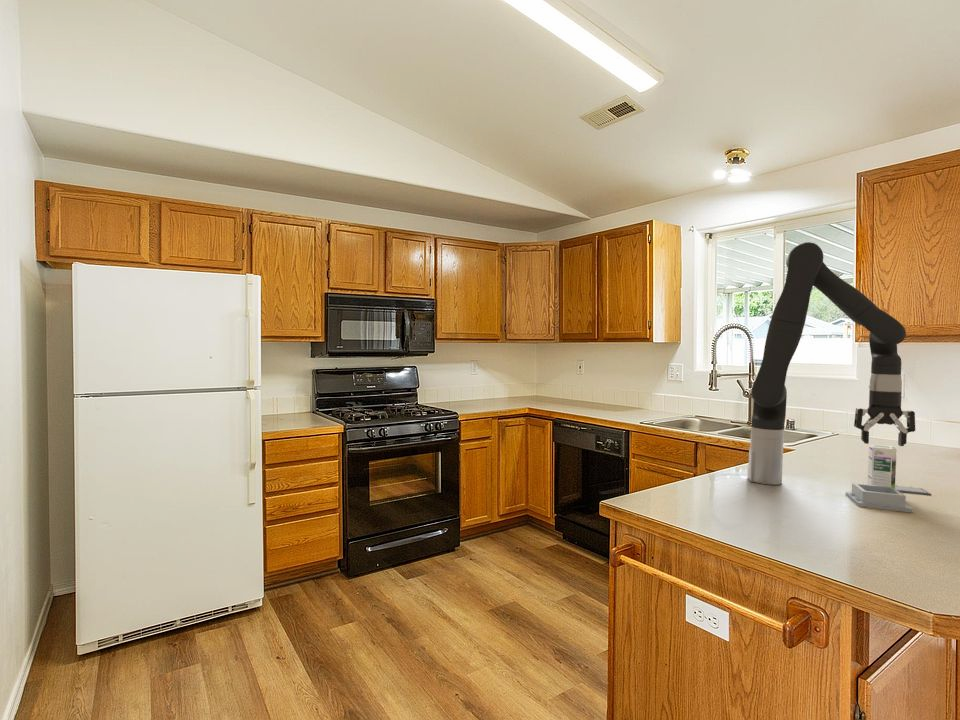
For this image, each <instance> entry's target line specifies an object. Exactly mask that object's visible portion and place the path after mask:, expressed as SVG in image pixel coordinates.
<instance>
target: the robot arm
mask: <svg viewBox="0 0 960 720" xmlns="http://www.w3.org/2000/svg"><path fill="white" fill-rule="evenodd" d="M785 265H786V268H787V272H786V277H785V282H784V286H783V289H782V290H781V293H780V295H779V298H778V299H777V302H776V305H775V307H774V310H773V312H772V314H771V318H770V322H769V324H768V329H767V332H766V333H767V334H766V338H765V344H764V348H763V349H764V350H763V356H762V360H761V364H760V367H759V369H758V372H757V375H756V378H755V380H754V382H753V384H752V386H751V394H750V395H751V397H752V399H753V410H752V417H751V423H750V426H751V427H750V444H749V445H750V446H749V449H748V469H747V470H748V471H747V478H748V480H749V482H750V483H751V482H753V483H757V484H763V485H771V486H772V485H773V486H777V485H782V483H783V464H784V463H783V461H784V439H785V438H784V437H785V422H786V414H787V413H786V412H787V400H788V399H787V396H788V395H787V387H786V379H787V374H788V369H789V367H790V363H791V361H792V358H793V356H794V355H795V354H796V353H795V352H796V351H797V348H798V346H799V344H800V341H801V338H802V335H803V331H804V328H805V324H806V321H807V320H806V319H807V315H808V312H809V311H808V310H809V306H810V299H811V294H812V289H813V287H814V288H816V289H817V291H819V292H820V293H822V294H823V295H824V296H825V297H826V298H827V299H829V300H830V302H832V303H833V304H834V305H835V306H836V307H837V308H839V310H840V311H841V312H843V313H844V315H846V316H847V317H848V318H849V319H850V320H851V321H852V322H854V323H855V324H857V325H859V326H862V327H863V328H865V329H866V330H867V331H868V332H869V335H868V343H869V349H870V355H871V368H870V371H871V372H870V379H869V384H868V389H869V395H868V399H869V400H868V408H860V407H856V408H855V413H854V423H853V427H855V428H857V429H859V430H860V431H861V434H860V435H861V436H860V440H861V441H862V442H863V443H864V444H865V445H866V444H867V445H869V442H870V441H869V440H870V439H869V438H870V431H869V430H870V429H871V428H872V427H874V426H875V425H876V424H877V425H889V426H890V425H893V426H895V428H896V429H897V430H898V431H899V432H898V438H897V440H898V441H897V444H898V446H899V447H905V445H906V444H907V439H908V437H907V436H908V434H909V433H914V432H916V414H915V413H916V412H915V411H914V410H902V394H903V393H902V392H903V391H902V390H903V388H902V387H903V380H902V359H901V356H900V355H899V354H898V345H899V344H901V343H902V342H903V341H904V340H905V338H906V337H907V331H906V329H905V327H904V325H903V324H902V323H901V322H900V321H899V320H897V319H896V318H895V317H893V316H892V315H890V314H889V313H887V312H886V311H884V310H882V309H881V308H879V307H878V306H877V305H876V304H875V303H874V302H873V301H872V300H871V299H870V298H869V297H867V296H866V295H865V294H864V293H862V292H861V291H860V290H858V289H857V288H856V287H855V286H853V285H851V284H850V283H848V282H847V281H845V280H844V279H842V278H841V277H839V276H838V275H837V274H835V273H834V272H833V271H832V270H831V269H830V268H829V267H828V266H827V265H826V264H825V263H824V252H823V249H822V248H821V247H820V246H819V245H818V244H816V243H814V242H811V241H810V242H809V241H808V242H806V241H805V242H802V243H799V244H797V245H795V246H794V247H793V248H791V250H790V251H789V252H788V253H787V255H786V257H785ZM866 414H867V415H868V416H869V418H868V419H866V421H865V423H864V424H863V417H865V416H866ZM902 416H903V417H904V418H905V419H906V426H904V424H903V422H901V420H900V418H901V417H902Z"/></svg>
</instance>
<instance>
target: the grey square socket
mask: <svg viewBox="0 0 960 720" xmlns="http://www.w3.org/2000/svg"><path fill="white" fill-rule="evenodd" d="M845 496H846V497H847V498H848V499H849V500H851V502H852V503H854V504H855V505H856V506H857V507H860V508H869V509H878V510H888V511H896V512H906V513H913V508H912V507H911V506H909V505H908V504H906V501H907V500H906V497H907V496H906V494H905V493H902V492H899V491H898V490H896V489H895V488H893V487H888V486H878V485H868V483H866V484H865V483H856V482H852V483H851V491H845Z"/></svg>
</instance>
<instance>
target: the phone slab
mask: <svg viewBox="0 0 960 720" xmlns="http://www.w3.org/2000/svg"><path fill="white" fill-rule="evenodd" d="M895 489H896V490H898V491H899V492H901V493H902V494H913V495H914V494H915V495H922V496H932V493H931V492H929V491H927V490H925V489H923V488H921V487H914V486H913V487H912V486H903V485H902V486H901V485H895Z"/></svg>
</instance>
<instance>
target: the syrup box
mask: <svg viewBox="0 0 960 720" xmlns="http://www.w3.org/2000/svg"><path fill="white" fill-rule="evenodd" d="M868 445H869V446H868V464H867V466H868V467H867V484H868V485H878V486H888V487H893V488H895V486H896V477H897V476H896V473H897V472H896V471H897V470H896V469H897V448H896V447H894V446H890V445H880V444H879V445H877V444H868Z"/></svg>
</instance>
